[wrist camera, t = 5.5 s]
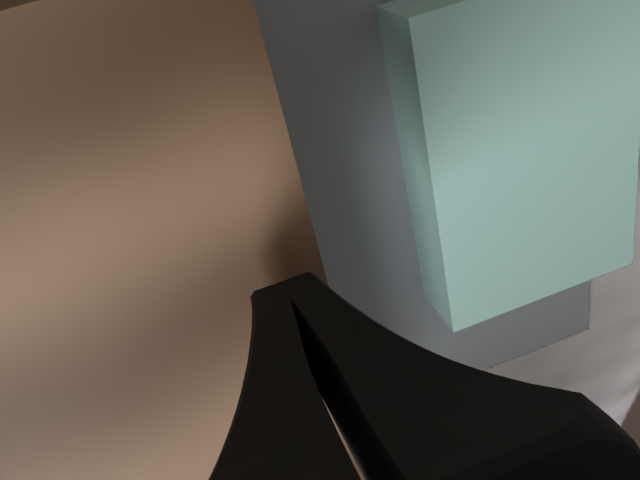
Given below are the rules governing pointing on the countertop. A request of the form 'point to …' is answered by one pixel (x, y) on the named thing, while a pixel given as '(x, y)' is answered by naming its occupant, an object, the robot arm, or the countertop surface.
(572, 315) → the mat
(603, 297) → the countertop surface
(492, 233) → the pale teal block
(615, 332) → the countertop surface
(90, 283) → the deck
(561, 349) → the countertop surface
